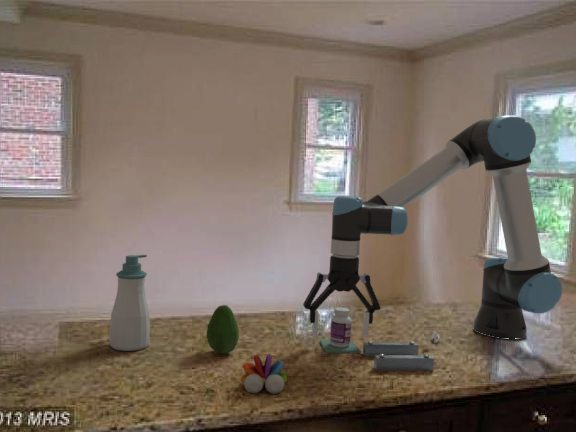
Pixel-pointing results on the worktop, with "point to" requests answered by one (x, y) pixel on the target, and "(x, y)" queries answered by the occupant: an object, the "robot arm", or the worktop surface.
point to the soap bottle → (130, 309)
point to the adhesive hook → (435, 337)
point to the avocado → (223, 330)
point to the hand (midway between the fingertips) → (340, 335)
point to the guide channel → (397, 356)
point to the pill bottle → (340, 328)
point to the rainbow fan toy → (264, 375)
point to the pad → (331, 349)
